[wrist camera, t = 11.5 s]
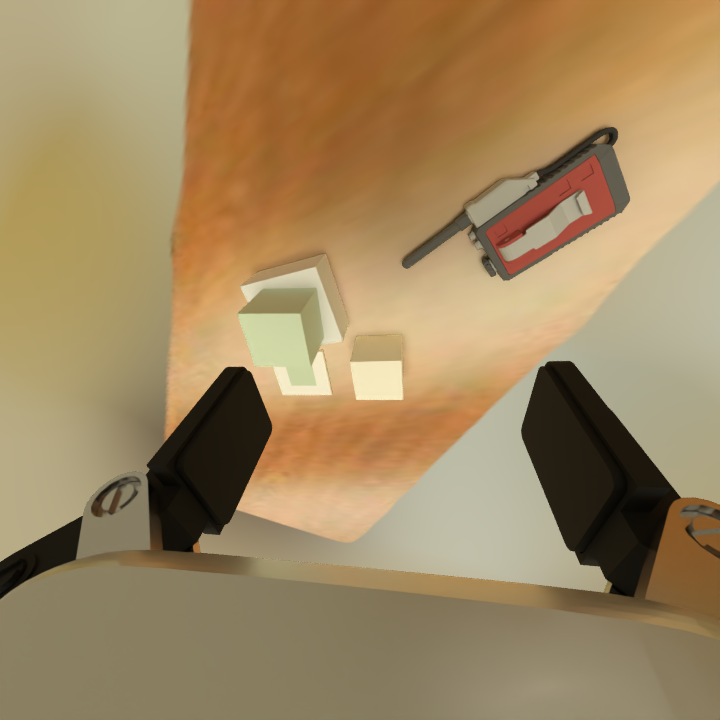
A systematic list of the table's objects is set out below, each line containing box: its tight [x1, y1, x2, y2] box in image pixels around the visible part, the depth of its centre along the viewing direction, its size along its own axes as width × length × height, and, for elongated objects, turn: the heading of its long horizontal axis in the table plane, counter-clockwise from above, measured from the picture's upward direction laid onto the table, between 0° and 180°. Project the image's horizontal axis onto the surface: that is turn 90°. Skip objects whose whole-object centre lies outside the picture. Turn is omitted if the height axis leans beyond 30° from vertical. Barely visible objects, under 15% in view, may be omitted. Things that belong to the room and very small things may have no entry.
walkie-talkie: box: [402, 127, 630, 280], centre depth 29 cm, size 9×4×20 cm
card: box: [273, 350, 332, 395], centre depth 44 cm, size 8×8×1 cm
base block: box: [240, 253, 349, 345], centre depth 35 cm, size 9×9×5 cm
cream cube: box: [350, 335, 403, 400], centre depth 38 cm, size 6×6×6 cm
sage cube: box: [237, 288, 324, 368], centre depth 31 cm, size 6×6×6 cm
